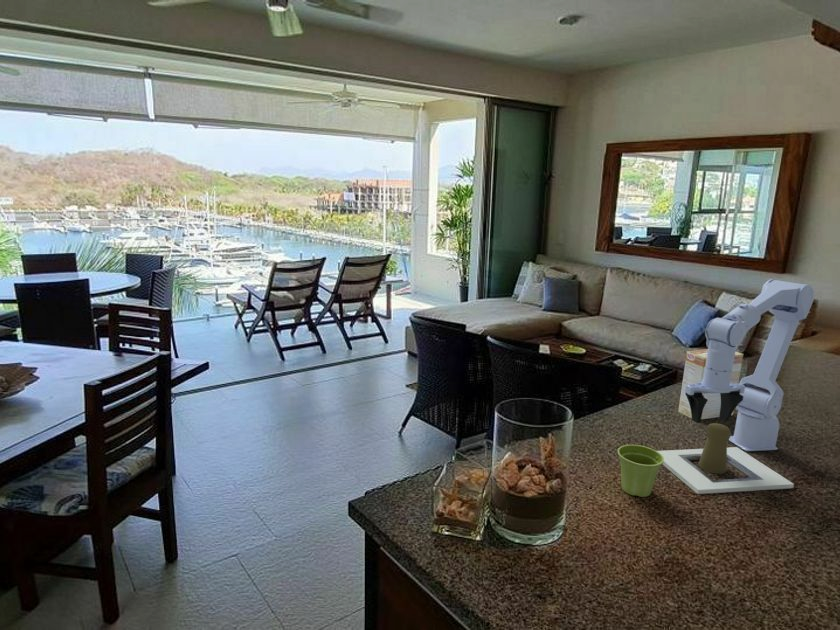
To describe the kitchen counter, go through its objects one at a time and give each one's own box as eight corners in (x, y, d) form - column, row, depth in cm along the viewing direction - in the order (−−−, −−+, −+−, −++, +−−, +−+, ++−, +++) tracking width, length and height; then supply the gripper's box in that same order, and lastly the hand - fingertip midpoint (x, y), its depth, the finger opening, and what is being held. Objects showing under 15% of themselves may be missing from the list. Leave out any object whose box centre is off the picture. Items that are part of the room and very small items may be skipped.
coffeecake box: (714, 406, 168) (724, 347, 164) (734, 415, 162) (745, 354, 157) (676, 411, 164) (685, 350, 159) (695, 421, 157) (705, 357, 153)
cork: (729, 475, 127) (737, 432, 124) (702, 471, 128) (709, 429, 126) (721, 463, 133) (729, 421, 130) (695, 459, 134) (702, 418, 131)
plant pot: (638, 506, 113) (643, 468, 111) (604, 484, 121) (608, 449, 119) (668, 496, 117) (673, 459, 115) (633, 475, 125) (638, 441, 123)
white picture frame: (736, 450, 139) (736, 447, 139) (793, 488, 122) (793, 484, 122) (651, 454, 136) (651, 451, 135) (697, 494, 118) (698, 489, 118)
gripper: (733, 362, 134) (724, 413, 137) (680, 363, 131) (672, 415, 135) (755, 371, 127) (745, 424, 130) (699, 373, 125) (691, 427, 128)
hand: (709, 420), depth 132 cm, fingers open, 7 cm apart
